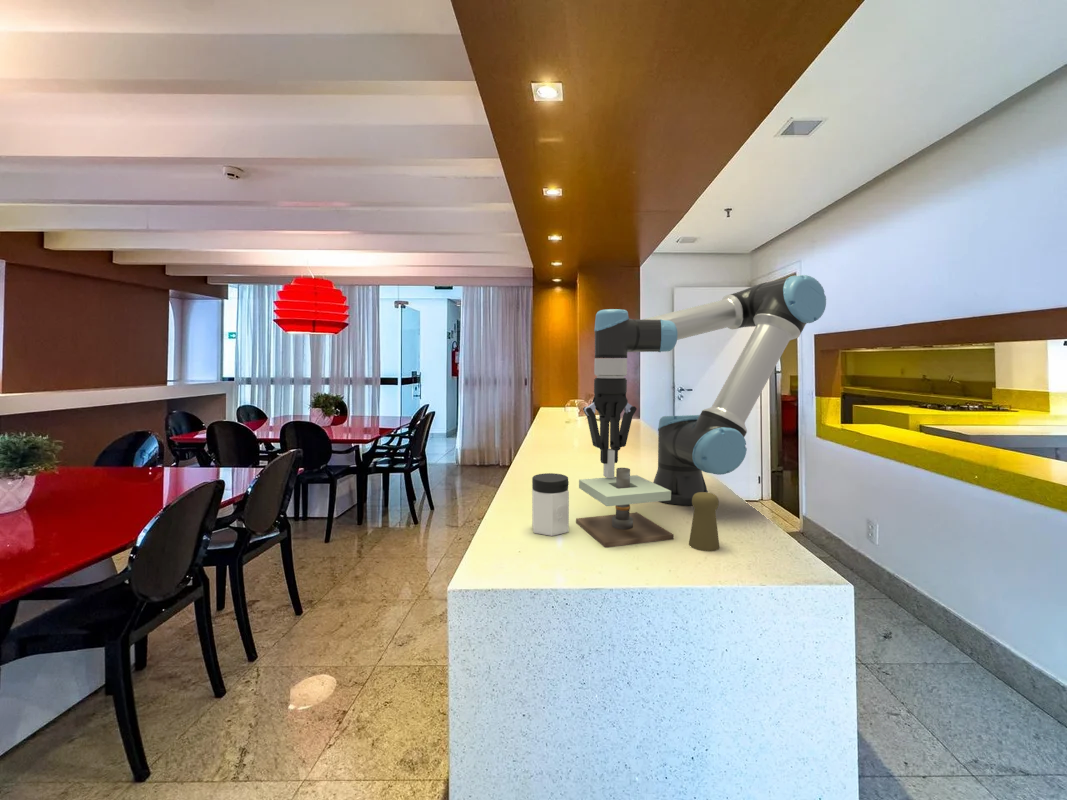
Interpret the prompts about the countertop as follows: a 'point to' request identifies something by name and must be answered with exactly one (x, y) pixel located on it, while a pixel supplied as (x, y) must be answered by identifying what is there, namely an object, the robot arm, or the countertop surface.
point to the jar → (550, 504)
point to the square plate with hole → (624, 491)
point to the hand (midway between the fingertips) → (608, 476)
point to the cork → (704, 522)
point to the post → (623, 523)
